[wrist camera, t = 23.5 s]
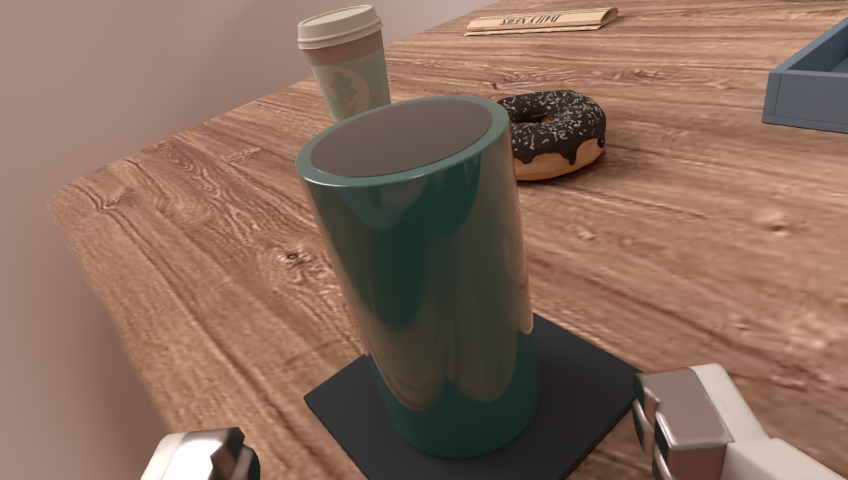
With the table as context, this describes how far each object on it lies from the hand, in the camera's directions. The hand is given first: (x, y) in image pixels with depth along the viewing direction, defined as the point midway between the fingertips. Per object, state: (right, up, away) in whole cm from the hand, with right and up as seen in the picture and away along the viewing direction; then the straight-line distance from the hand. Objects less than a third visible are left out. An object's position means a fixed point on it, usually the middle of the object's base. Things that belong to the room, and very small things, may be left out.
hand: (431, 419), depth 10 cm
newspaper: (+18, +38, +70) cm, 81 cm away
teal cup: (+1, -3, +12) cm, 12 cm away
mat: (+2, -3, +12) cm, 13 cm away
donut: (+9, +11, +31) cm, 34 cm away
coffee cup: (-6, +15, +44) cm, 47 cm away
